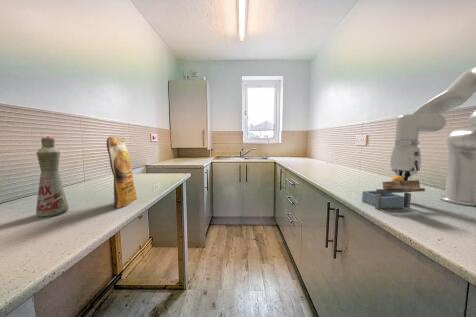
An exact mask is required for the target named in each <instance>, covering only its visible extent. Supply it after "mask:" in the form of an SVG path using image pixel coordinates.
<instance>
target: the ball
mask: <svg viewBox="0 0 476 317" xmlns="http://www.w3.org/2000/svg"><path fill="white" fill-rule="evenodd" d="M391 181H404V178H403V177H401V176H397V175H395V176H393V177H392V178H391Z"/></svg>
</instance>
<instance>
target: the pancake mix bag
mask: <svg viewBox="0 0 476 317" xmlns="http://www.w3.org/2000/svg"><path fill="white" fill-rule="evenodd" d="M106 150H107V153H108V158H109V166H110V169H111V171H112V172H111V173H112V175H113V207H114V208H115V209H119V208H122V207H123V208H124V207H126V206H128V205H130V204H131V203H133V202H134V201H135V200H136V199H137V198H138V196H137V191H136V187H135V183H134V175H133V170H132V164H131V162H132V161H131V158H130V154H129V150H128V148H127V144H126V141H125V138H123V137H117V136H108V137H107V139H106Z"/></svg>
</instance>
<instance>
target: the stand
mask: <svg viewBox="0 0 476 317" xmlns="http://www.w3.org/2000/svg"><path fill="white" fill-rule="evenodd" d="M403 195H404V196H403V197H404V205H403V208H405V209H410V208H411V202H412V201H411V199H412V198H411V197H412V194H411V192H403ZM381 202H382V195H381V194H376V197H375V206H374V209H375V210H378V211H381V210H382V209H381Z"/></svg>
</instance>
